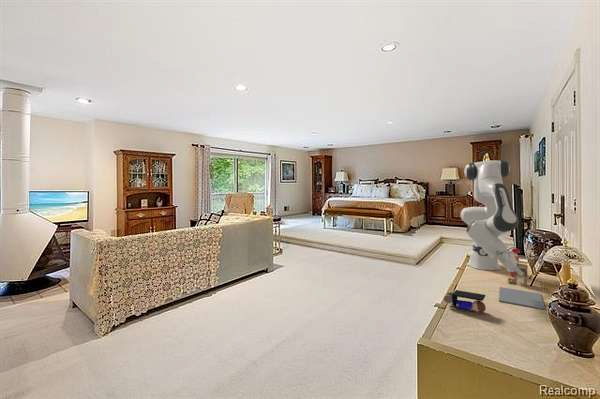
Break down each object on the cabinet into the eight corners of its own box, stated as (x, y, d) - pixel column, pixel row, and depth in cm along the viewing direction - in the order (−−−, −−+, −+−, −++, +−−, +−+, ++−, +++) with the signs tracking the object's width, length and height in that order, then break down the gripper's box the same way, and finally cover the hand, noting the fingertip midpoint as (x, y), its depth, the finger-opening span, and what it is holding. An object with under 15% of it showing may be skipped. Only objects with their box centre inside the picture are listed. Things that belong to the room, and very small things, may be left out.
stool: (513, 280, 135) (513, 262, 135) (527, 282, 132) (527, 264, 132) (513, 283, 131) (513, 265, 131) (527, 285, 128) (528, 266, 128)
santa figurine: (506, 275, 165) (506, 243, 164) (519, 276, 161) (519, 244, 160) (507, 288, 144) (507, 252, 143) (521, 290, 141) (522, 253, 140)
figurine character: (444, 310, 125) (484, 316, 114) (442, 293, 125) (482, 297, 115) (448, 305, 130) (487, 310, 120) (446, 288, 130) (485, 292, 120)
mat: (499, 288, 145) (499, 287, 145) (540, 294, 135) (540, 293, 135) (498, 301, 129) (498, 300, 129) (544, 309, 119) (545, 308, 119)
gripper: (502, 249, 127) (530, 274, 121) (502, 242, 143) (527, 263, 138) (490, 258, 129) (516, 282, 124) (492, 249, 146) (515, 271, 141)
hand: (522, 272), depth 131 cm, fingers closed on stool, 5 cm apart
